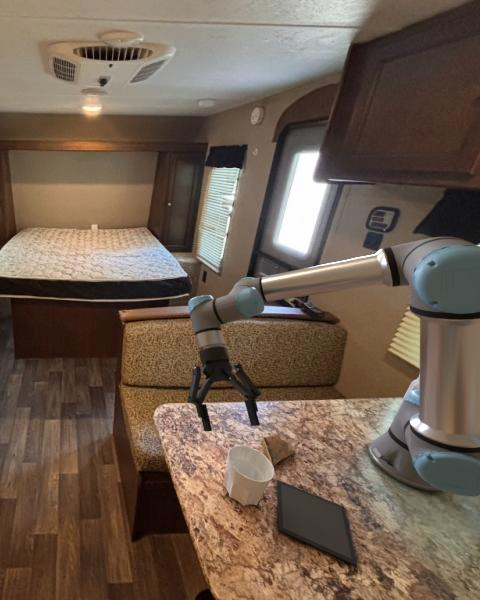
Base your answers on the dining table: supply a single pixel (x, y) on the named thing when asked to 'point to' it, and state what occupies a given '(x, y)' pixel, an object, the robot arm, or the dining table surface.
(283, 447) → the shard
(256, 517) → the dining table surface
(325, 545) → the mat
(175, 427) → the dining table surface
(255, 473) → the cup
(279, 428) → the dining table surface
